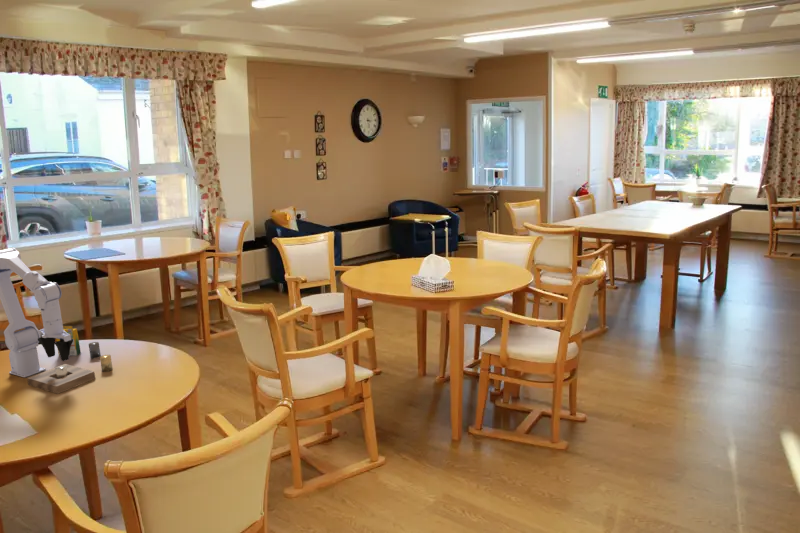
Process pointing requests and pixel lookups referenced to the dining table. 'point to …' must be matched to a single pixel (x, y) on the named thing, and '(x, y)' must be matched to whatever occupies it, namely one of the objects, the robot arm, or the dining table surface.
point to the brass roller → (106, 363)
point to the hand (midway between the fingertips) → (58, 358)
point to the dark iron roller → (94, 350)
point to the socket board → (61, 379)
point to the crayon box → (75, 344)
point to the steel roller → (61, 371)
